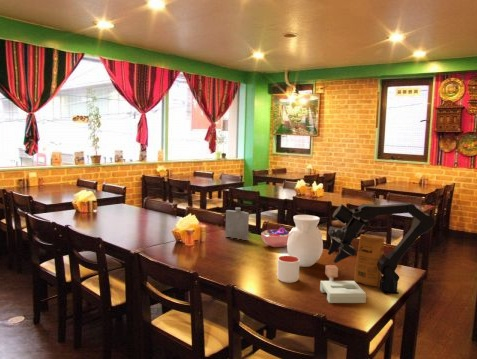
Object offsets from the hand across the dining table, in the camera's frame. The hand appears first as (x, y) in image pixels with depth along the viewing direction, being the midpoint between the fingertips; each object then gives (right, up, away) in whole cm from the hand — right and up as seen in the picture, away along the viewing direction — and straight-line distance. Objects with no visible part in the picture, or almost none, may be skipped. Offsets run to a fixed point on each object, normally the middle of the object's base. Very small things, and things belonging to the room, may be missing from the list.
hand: (331, 258), depth 178 cm
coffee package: (+19, -13, +10) cm, 25 cm away
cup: (-18, -12, +10) cm, 24 cm away
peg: (0, -13, +4) cm, 14 cm away
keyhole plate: (+3, -15, -7) cm, 16 cm away
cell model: (-18, -6, +66) cm, 69 cm away
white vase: (-7, -10, +34) cm, 36 cm away
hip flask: (-42, -3, +81) cm, 92 cm away
